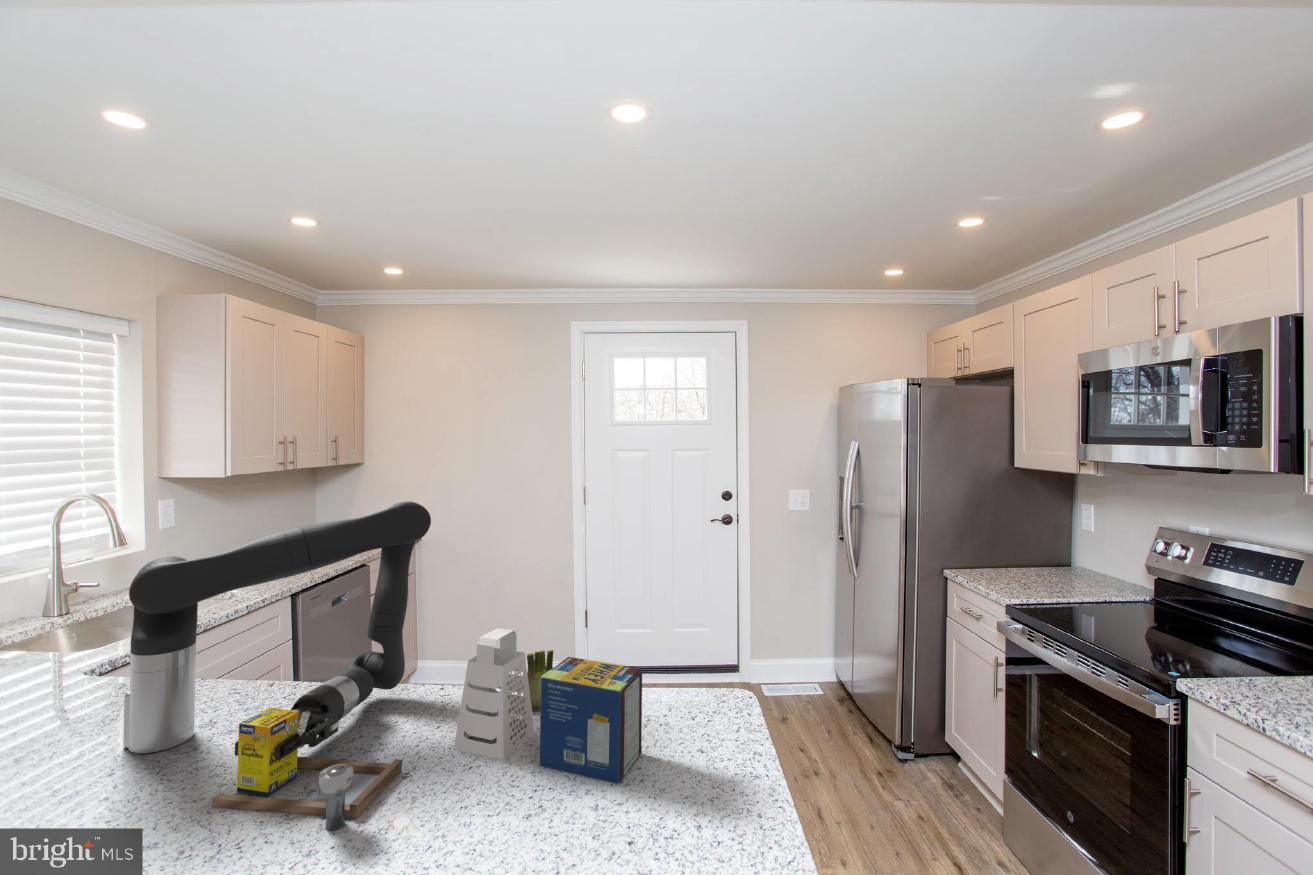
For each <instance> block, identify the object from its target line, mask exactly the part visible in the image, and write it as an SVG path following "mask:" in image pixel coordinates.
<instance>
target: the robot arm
mask: <svg viewBox="0 0 1313 875" xmlns="http://www.w3.org/2000/svg"><path fill="white" fill-rule="evenodd" d="M431 517H432V516H431V514H430V512H429V511H428V509H427V508H425V506H423V505H422V504H420V503H417V502H414V501H402V502H398V503H394V504H393V505H391V506H389V507H388V508H386V509H383V510H381V511H377V512H373V513H371V514H368V515H365V516H360V517H357V518H349V519H343V520H342V519H341V520H332V521H326V522H319V523H318V522H317V523H312V524H307V525H303V526H298V527H294V528H290V529H286V530H282V531H279V532H278V531H277V532H275V533H271V534H268V535H266V536H263V537H260V538H258V539H256V540H253V541H251V542H248V543H246V544H243V545H241V546H238V547H236V548H233V549H231V550H228V551H225V552H221V553H218V554H215V555H209V556H205V557H200V558H199V557H198V558H193V559H190V560H189V559H188V560H187V559H186V558H182V557H181V556H180V557H179V556H173V555H172V556H171V555H169V556H162V557H158V558H155V559H153V560H151V561H149V562H148V563H146V564H145V565H144V566H142V568H140V570H139V571H138V572H137V574H136V575H135V576H134V578H133V580H132V582H131V584H130V586H129V589H128V596H129V601H130V602H131V604H132V606H133V621H132V629H131V636H130V659H129V660H130V662H129V664H130V667H129V670H130V674H129V676H130V677H129V691H128V692H126V693H125V694H124V696H123V697H124V702H123V703H124V704H123V705H124V706H123V707H124V708H123V748H128V751H129V752H131V753H134V754H150V753H151V754H152V753H155V752H161V751H164V750H169V749H171V748H174V747H177V746H179V745H182V744H183V743H185V742H187V741H188V740H190V739H191V738H192V737H193V736H194V734H195V711H196V707H195V706H196V674H197V673H196V672H197V671H196V668H197V667H196V664H197V663H196V661H197V658H196V657H197V630H198V628H197V627H198V607H199V605H198V604H199V602H202V601H205V600H207V599H208V600H209V599H211V598H214V597H216V596H219V595H221V594H225V593H228V592H231V591H235V590H238V589H243V588H247V587H252V586H253V587H254V586H257V585H262V584H265V583H269V582H274V581H277V580H282V579H286V578H290V577H294V576H297V575H301V574H306V573H308V572H311V571H315V570H318V569H321V568H324V567H327V566H330V565H334V564H336V563H338V562H342V561H344V560H347V559H349V558H352V557H354V556H357V555H360V554H362V553H366V552H369V551H373V550H379V549H381V550H380V562H379V568H378V570H379V571H378V575H377V580H376V585H375V591H374V594H373V595H374V596H373V601H372V604H371V610H370V613H369V614H370V615H369V620H368V626H367V632H366V635H367V638H368V639H369V640H371V642H372V641H373V642H376V643H378V644H379V645H381V647H382V651H383V652H380V651H364V652H362V653H359V654H357V655H356V656H355V657H354V659H353V660H352V661H351V662H350V664H349V665H348V666H347V668H346V669H345V670H344V671H343V672H341V673H340V674H338V675H336V676H335V677H333V678H331V679H329V680H326V681H324V682H323V683H321V684H320V685H318V686H316V687H314V688H313V689H311V690H309V691H308V692H307V693H305V694H303V695H301V696H300V697H298V698H297V700H296V701H295V702H294V704H293V705H292V707H291V708H290V710H293V711H298V712H299V714H298V731H297V732H296V735H294V734H293V735H291V736H289V737H288V738H287V739H285V740H284V741H282V742H281V743H279V744H278V745H277V746H276V749H275V758H276V759H282V758H283V757H285V756H286V755H289V754H290V753H291V752H293V751H294V750H295V749H297V748H298V749H301V748H302V749H303V748H304V747H305V746H306V745H308V747H309V748H315V747H316V746H318V745H319V744H321V743H322V742H324V741H325V740H327V739H329V738H331V737H332V736H334V735H335V734H337V733H338V732H339V725H340V724H339V721H341V720H343V719H344V718H345V717H346V716H347V715H348V714H350V713H351V711H352V710H354V709H355V708H356V707H357V706H359V705H360V704H362V702H364V701H366V700H367V699H368V698H369V696H371V694H372V693H373V690H374V689H379V690H392V689H395V688H396V687H397V686H398V685H399V684H400V682H401V681H402V680H403V677H404V674H405V669H406V661H405V650H404V638H403V630H404V625H405V620H406V614H407V607H408V602H409V601H408V600H409V572H410V563H411V557H412V554H413V549H414V546H415V544H416V542H418V541H419V540H421V539H422V538H423V537H424V536H426V534H427V533H428V531H429V529H430V528H431V524H432V518H431ZM234 756H235V757H238V740H237V741H236V742H235V743H234Z"/></svg>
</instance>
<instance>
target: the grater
mask: <svg viewBox="0 0 1313 875" xmlns="http://www.w3.org/2000/svg"><path fill="white" fill-rule="evenodd" d="M517 636H518V635H517V632H516V631H515V630H514V629H507V628H506V629H505V628H500V627H499V628H498V627H497V628H495V629H493V630H491V631H489V632H487V633H485V634H483V635H480V637H479V639H478V641H477V644H476V656H473V657H472V658H470V659H469V660H467V665H466V672H465V678H464V685H463V689H462V696H461V703H460V709H459V716H458V719H457V720H458V722H457V728H456V733H455V740H454V747H453V750H454V749H455V750H454V751H459V752H463V753H466V754H467V753H468V754H472V755H476V756H480V757H484V758H490V759H493V760H499V761H502V762H503V761H505V760H506V759H508V757H509V756H510V755H512V754H513V753H514V752H515V751H516V750H517V749H519V748H521V746H522V745H523V744H525V742H527V741H528V740H529V739H530V738H531V737H532V736H533V735H534V734H535V733H536V732H535V724H534V723H535V722H534V718H533V716H534V715H533V710H532V707H531V699H530V691H529V683H528V675H527V673H528V666H527V662H526V661H527V658H526V654H525V652H523V651H517V641H518V640H517ZM498 640H499V648H497V647H495V646H496V644H497V641H498ZM513 673H514V674H513ZM497 689H499V691H498V690H497ZM521 694H522V695H521ZM521 716H522V717H521ZM513 729H514V731H513ZM518 731H519V733H518ZM515 733H516V735H515ZM524 733H525V735H524ZM521 735H522V737H521ZM471 737H475V738H480V739H484V740H490V741H493V740H495V739H496V742H495V743H487V742H482V741H477V740H473V739H470V738H471ZM511 737H512V739H511ZM517 739H518V741H517ZM514 742H515V743H514Z"/></svg>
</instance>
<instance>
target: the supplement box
mask: <svg viewBox="0 0 1313 875" xmlns="http://www.w3.org/2000/svg"><path fill="white" fill-rule="evenodd" d="M298 714H299V712H298V711H293V710H291V709H284V708H283V709H282V708H277V707H269V708H266V709H265V710H263V711H262V712H260V713H258V714H255V715H254V716H252V717H250V718H248V719H246V720H243V721H241V722H239V723H238V740H237V741H238V756H237V779H236V780H237V782H236V792H237V793H241V794H248V795H252V796H253V795H254V796H257V797H265V798H269V796H271V795H272V794H273V793H275V792H276V791H277V790H279V789H280V788H282V787H283V786H284V785H286V784H288V783H289V782H291V781H293V780H294V779H296V778H297V776H298V768H297V757H298V752H299V751H298V749H299V748H297V749H295V750H294V751H293V752H291V753H290V754H289V755H286V756H285V757H283V758H282V759H276V758H275V749H276V746H277V745H278V744H279V743H281V742H282V741H284V740H285V739H287V738H288V737H289V736H291V735H293V734H294V735H296V732H297V731H298Z"/></svg>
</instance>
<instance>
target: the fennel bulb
mask: <svg viewBox="0 0 1313 875" xmlns="http://www.w3.org/2000/svg"><path fill="white" fill-rule="evenodd" d="M545 652H547V653H545ZM553 659H554V650H553V649H548V650H547V651H546V650H544V649H543V650H539V651H535V652H534V653H533V652H531V653H528V654H526V661H527V662H526V665H527V675H528V683H529V691H530V699H531V707H532V711H541V676H542V675H544V674H545V673H547V672H548V671H550V670H551V669H552V668H554V667H553V666H554V663H553V662H554V660H553Z"/></svg>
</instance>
